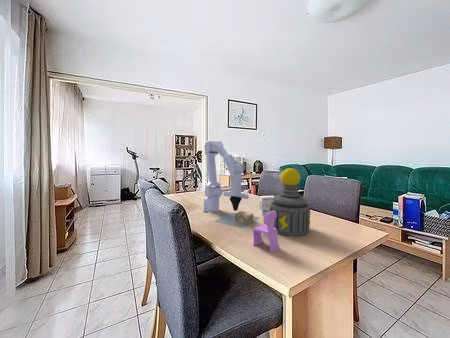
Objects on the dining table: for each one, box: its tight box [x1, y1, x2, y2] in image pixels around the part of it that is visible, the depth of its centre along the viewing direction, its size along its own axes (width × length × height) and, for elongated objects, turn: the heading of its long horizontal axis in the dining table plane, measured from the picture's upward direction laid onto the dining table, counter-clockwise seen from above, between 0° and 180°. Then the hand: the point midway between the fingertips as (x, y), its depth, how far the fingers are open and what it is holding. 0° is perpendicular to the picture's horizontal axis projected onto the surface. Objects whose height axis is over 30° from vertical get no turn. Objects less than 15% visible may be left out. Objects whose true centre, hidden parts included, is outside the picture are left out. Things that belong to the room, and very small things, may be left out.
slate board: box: [213, 212, 261, 229], centre depth 116 cm, size 18×20×1 cm
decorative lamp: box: [270, 167, 311, 237], centre depth 103 cm, size 19×19×30 cm
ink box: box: [259, 195, 275, 217], centre depth 125 cm, size 9×5×12 cm, turn 100°
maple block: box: [235, 210, 254, 223], centre depth 114 cm, size 4×6×8 cm
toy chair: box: [252, 211, 280, 253], centre depth 85 cm, size 8×9×15 cm
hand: (235, 210), depth 117 cm, fingers closed
